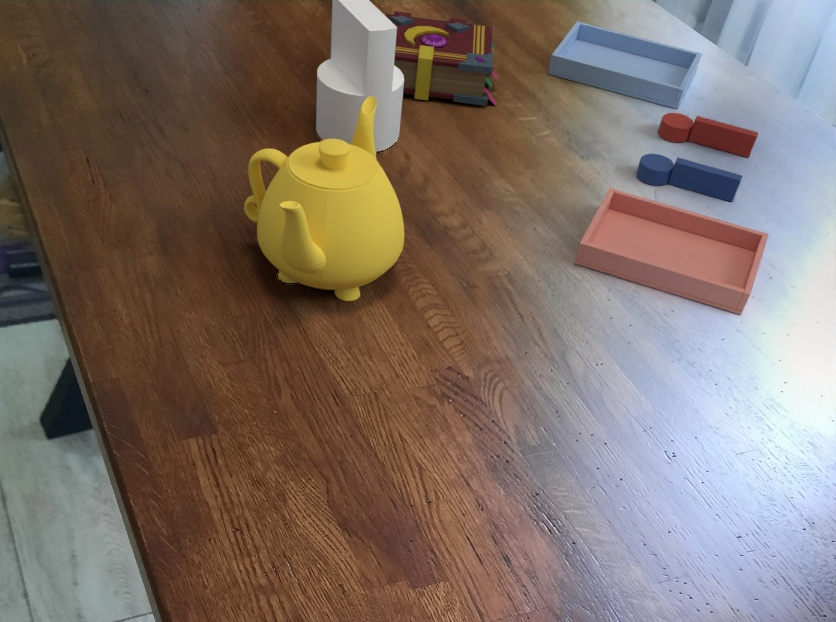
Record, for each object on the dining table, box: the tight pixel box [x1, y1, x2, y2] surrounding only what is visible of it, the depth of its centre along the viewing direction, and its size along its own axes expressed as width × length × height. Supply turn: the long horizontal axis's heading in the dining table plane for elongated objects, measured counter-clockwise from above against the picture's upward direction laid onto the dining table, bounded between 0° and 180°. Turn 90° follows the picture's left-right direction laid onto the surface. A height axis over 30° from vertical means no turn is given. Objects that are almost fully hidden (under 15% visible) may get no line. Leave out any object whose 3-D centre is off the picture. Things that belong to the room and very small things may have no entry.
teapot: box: [243, 96, 405, 302], centre depth 81 cm, size 20×15×12 cm
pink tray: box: [574, 187, 769, 315], centre depth 90 cm, size 16×11×2 cm
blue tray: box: [547, 20, 703, 110], centre depth 113 cm, size 16×11×2 cm
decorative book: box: [383, 10, 499, 107], centre depth 107 cm, size 11×16×5 cm
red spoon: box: [657, 112, 759, 158], centre depth 104 cm, size 11×4×2 cm, turn 67°
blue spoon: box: [635, 153, 743, 203], centre depth 98 cm, size 11×4×2 cm, turn 67°
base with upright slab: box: [315, 0, 404, 152], centre depth 95 cm, size 9×9×12 cm
